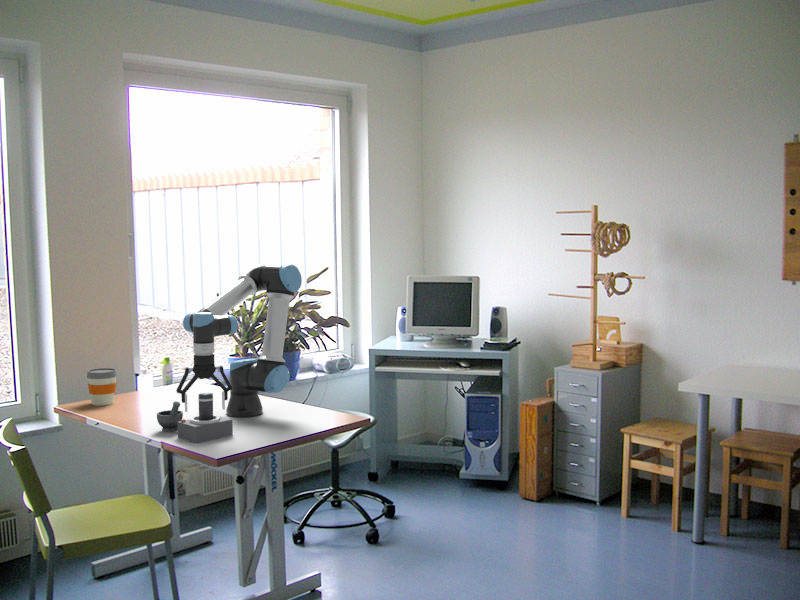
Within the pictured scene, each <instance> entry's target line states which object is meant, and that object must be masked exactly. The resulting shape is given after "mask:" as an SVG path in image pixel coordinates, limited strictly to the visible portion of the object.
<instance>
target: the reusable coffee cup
mask: <svg viewBox="0 0 800 600" xmlns="http://www.w3.org/2000/svg"><path fill="white" fill-rule="evenodd" d="M86 372H87V374H86V378H87V381H88V383H87V387H88V392H89V394H90V399H91V405H92V406H108V405H109V406H110V405H112V404H114V401H115V400H114V399H115V393H116V391H117V376H118V373H117V369H115V368H111V367H109V368H108V367H105V368H103V367H99V368H92V369H89V370H87V371H86Z"/></svg>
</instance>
